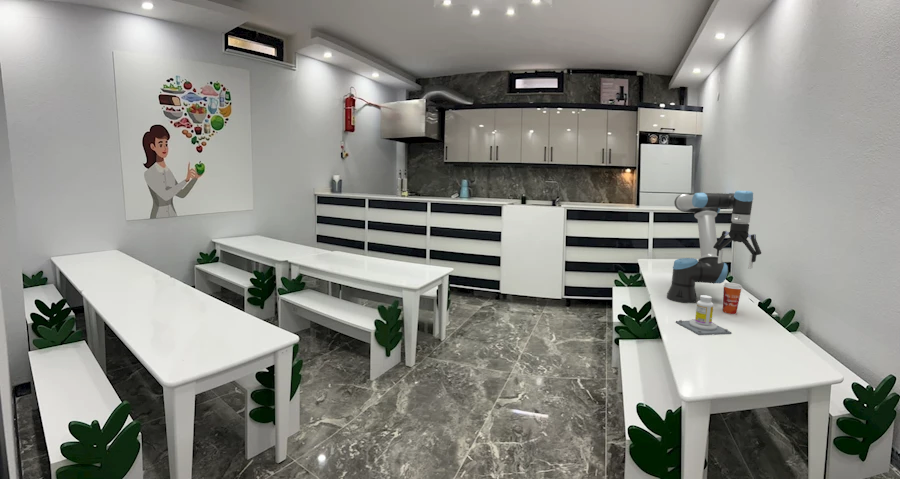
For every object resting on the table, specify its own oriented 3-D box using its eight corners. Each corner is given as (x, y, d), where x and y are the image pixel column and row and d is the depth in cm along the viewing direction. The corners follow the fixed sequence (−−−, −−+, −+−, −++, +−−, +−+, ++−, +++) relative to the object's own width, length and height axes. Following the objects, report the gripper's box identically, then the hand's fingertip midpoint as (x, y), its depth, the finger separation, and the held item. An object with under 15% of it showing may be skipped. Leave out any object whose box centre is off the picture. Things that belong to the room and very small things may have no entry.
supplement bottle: (707, 321, 206) (710, 294, 204) (714, 326, 200) (717, 298, 197) (692, 320, 207) (695, 294, 205) (698, 325, 200) (701, 298, 198)
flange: (675, 322, 210) (676, 318, 210) (705, 321, 212) (706, 317, 212) (698, 335, 194) (699, 330, 194) (731, 333, 197) (731, 328, 196)
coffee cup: (721, 313, 225) (725, 285, 223) (718, 308, 233) (722, 281, 230) (740, 315, 222) (744, 287, 220) (737, 311, 230) (740, 283, 227)
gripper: (709, 220, 220) (704, 261, 223) (767, 226, 200) (761, 271, 204) (715, 219, 224) (710, 260, 228) (773, 225, 205) (767, 269, 208)
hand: (734, 265), depth 216 cm, fingers open, 13 cm apart
